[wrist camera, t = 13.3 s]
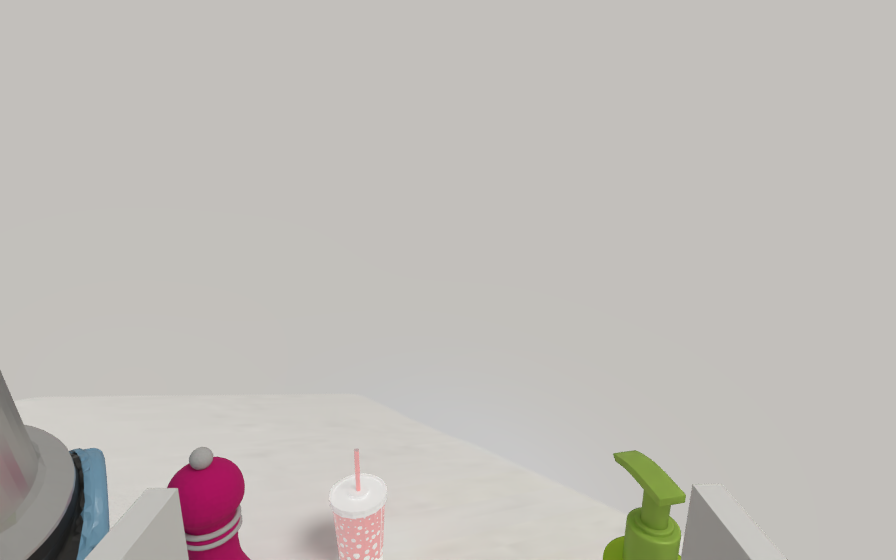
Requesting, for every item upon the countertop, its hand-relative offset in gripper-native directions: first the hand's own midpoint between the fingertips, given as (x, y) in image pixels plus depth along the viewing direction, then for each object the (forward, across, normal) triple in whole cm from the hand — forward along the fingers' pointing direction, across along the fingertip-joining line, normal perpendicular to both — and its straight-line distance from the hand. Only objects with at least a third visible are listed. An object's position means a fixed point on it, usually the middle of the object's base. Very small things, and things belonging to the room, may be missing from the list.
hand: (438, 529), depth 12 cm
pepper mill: (+25, -20, -34) cm, 46 cm away
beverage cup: (+33, -8, -34) cm, 48 cm away
